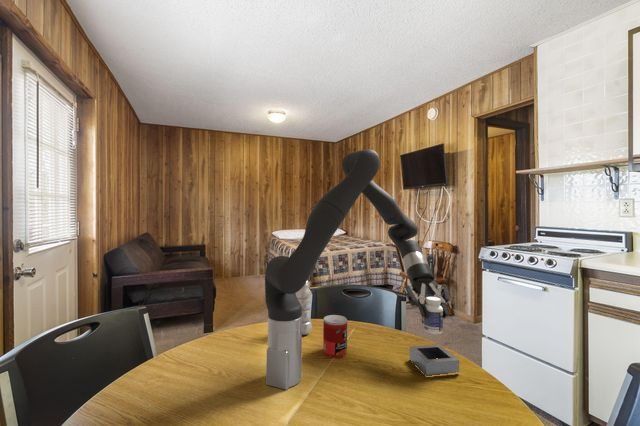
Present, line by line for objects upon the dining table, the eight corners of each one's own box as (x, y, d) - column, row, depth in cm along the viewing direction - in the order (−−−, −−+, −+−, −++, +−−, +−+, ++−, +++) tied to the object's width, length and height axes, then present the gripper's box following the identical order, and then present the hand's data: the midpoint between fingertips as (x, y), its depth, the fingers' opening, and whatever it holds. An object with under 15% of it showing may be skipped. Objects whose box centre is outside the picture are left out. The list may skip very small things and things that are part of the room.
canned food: (338, 360, 91) (339, 325, 91) (318, 353, 96) (318, 319, 96) (351, 351, 98) (351, 318, 98) (331, 345, 102) (332, 313, 102)
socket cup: (459, 376, 84) (459, 360, 84) (426, 378, 82) (426, 362, 82) (439, 358, 94) (439, 344, 94) (409, 361, 92) (409, 346, 92)
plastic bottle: (290, 334, 110) (291, 281, 111) (300, 328, 116) (300, 277, 117) (305, 338, 107) (306, 283, 108) (314, 332, 113) (315, 279, 114)
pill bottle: (444, 335, 85) (444, 301, 85) (424, 333, 86) (425, 300, 86) (440, 328, 90) (441, 296, 90) (422, 326, 91) (422, 295, 91)
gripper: (400, 262, 94) (418, 312, 83) (441, 261, 97) (465, 310, 85) (393, 275, 100) (409, 324, 88) (433, 274, 102) (453, 322, 90)
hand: (436, 317), depth 86 cm, fingers closed on pill bottle, 5 cm apart
